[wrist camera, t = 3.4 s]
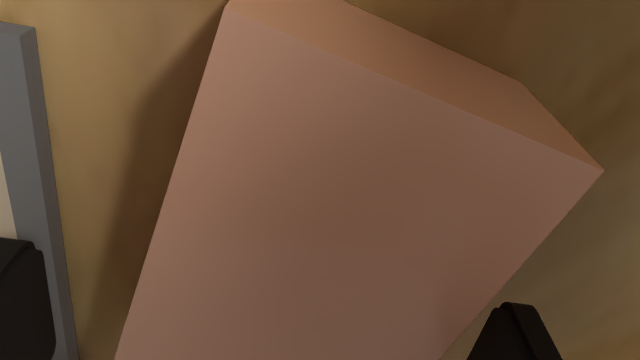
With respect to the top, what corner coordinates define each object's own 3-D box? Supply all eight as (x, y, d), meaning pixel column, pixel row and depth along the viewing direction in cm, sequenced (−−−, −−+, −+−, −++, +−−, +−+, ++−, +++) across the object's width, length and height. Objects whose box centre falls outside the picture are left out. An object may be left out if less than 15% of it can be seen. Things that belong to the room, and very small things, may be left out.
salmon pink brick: (515, 77, 11) (604, 170, 7) (319, 366, 16) (317, 497, 13) (259, -41, 9) (224, 6, 6) (140, 316, 15) (86, 446, 11)
